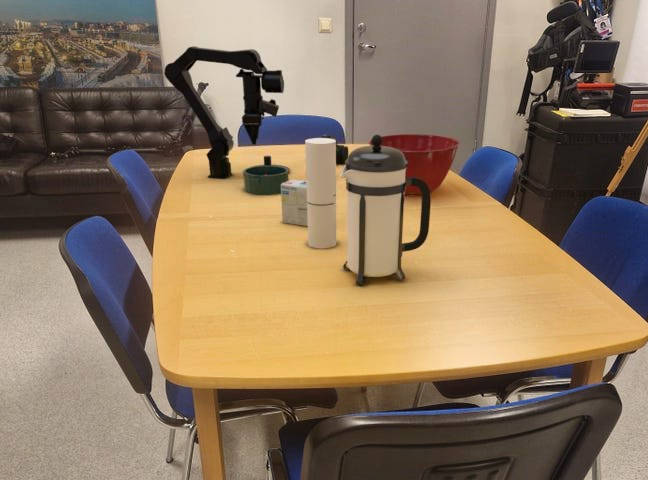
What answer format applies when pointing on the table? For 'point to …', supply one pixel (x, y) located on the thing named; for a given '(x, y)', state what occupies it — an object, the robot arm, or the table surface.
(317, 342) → the table surface
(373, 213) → the coffee press
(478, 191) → the table surface
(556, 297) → the table surface
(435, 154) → the mixing bowl
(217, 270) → the table surface
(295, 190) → the light bulb box
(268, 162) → the pot lid
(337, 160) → the film camera
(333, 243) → the cylindrical container
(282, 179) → the pot
